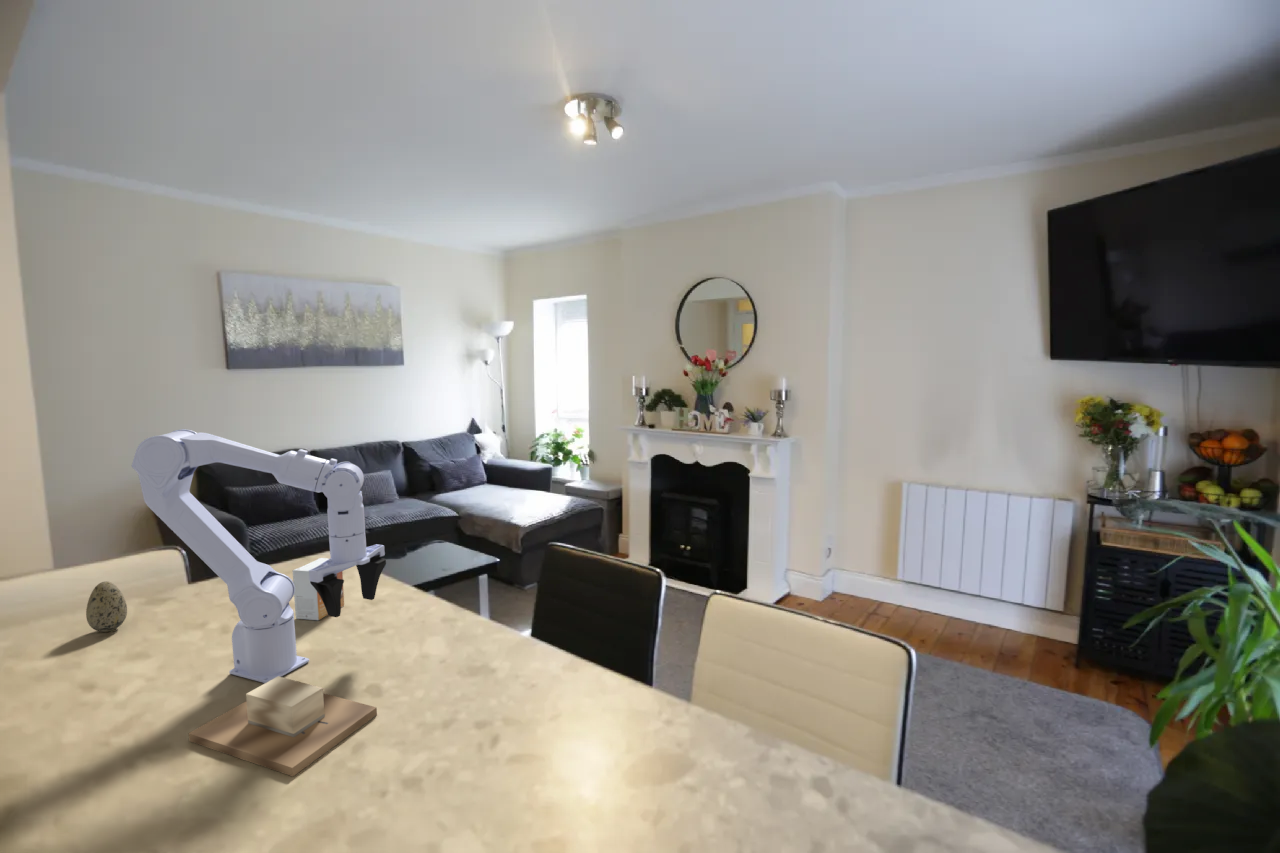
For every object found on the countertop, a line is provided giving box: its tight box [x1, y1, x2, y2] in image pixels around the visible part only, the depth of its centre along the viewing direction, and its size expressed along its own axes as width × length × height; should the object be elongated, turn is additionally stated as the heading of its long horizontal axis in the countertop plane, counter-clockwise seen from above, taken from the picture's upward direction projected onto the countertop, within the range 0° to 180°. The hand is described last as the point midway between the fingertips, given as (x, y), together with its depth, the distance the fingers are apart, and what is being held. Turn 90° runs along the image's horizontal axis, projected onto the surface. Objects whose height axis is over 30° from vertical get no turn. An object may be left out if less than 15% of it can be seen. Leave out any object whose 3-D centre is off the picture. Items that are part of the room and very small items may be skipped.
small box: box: [292, 557, 345, 621], centre depth 124 cm, size 8×6×10 cm
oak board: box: [188, 692, 378, 777], centre depth 85 cm, size 20×14×1 cm
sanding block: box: [245, 676, 325, 737], centre depth 85 cm, size 9×5×4 cm, turn 69°
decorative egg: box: [85, 581, 128, 633], centre depth 115 cm, size 6×6×10 cm
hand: (352, 606), depth 104 cm, fingers open, 7 cm apart
